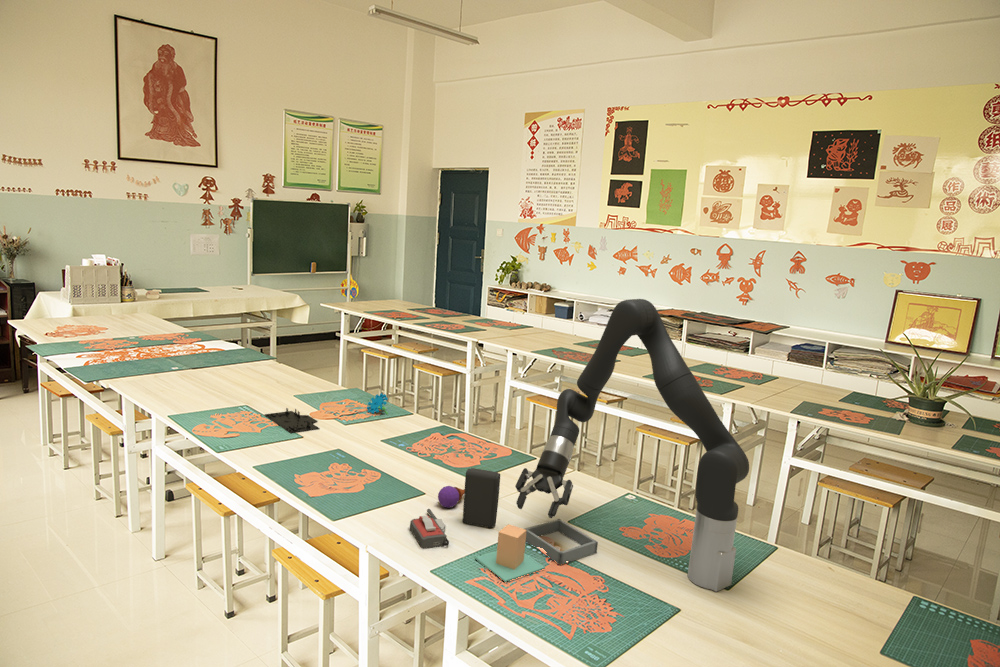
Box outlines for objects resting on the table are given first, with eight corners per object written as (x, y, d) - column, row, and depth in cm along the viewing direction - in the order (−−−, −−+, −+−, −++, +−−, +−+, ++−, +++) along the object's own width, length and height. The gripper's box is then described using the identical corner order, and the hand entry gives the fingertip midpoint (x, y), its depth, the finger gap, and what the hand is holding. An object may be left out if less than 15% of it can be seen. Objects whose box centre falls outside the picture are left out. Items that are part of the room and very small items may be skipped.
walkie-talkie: (456, 548, 161) (431, 513, 179) (457, 531, 161) (432, 498, 178) (422, 553, 158) (400, 517, 176) (423, 536, 157) (401, 502, 175)
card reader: (497, 523, 176) (502, 471, 173) (494, 529, 172) (498, 476, 169) (465, 517, 178) (469, 466, 175) (461, 523, 174) (465, 471, 171)
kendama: (494, 480, 196) (452, 494, 179) (489, 498, 197) (446, 513, 180) (479, 471, 199) (436, 484, 182) (474, 488, 200) (431, 503, 184)
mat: (544, 569, 154) (545, 567, 154) (505, 583, 146) (505, 580, 146) (513, 547, 163) (513, 545, 163) (475, 559, 156) (475, 557, 156)
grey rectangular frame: (596, 552, 164) (597, 541, 163) (560, 565, 156) (561, 553, 156) (558, 529, 175) (559, 518, 175) (522, 539, 168) (523, 528, 167)
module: (523, 560, 156) (526, 529, 155) (514, 569, 151) (517, 538, 150) (505, 554, 158) (508, 524, 157) (495, 563, 154) (498, 531, 152)
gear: (362, 405, 269) (379, 388, 271) (370, 413, 273) (387, 397, 275) (372, 416, 261) (390, 399, 263) (381, 424, 264) (398, 407, 267)
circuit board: (264, 416, 252) (264, 408, 251) (299, 411, 261) (299, 404, 261) (290, 434, 233) (290, 426, 233) (327, 429, 243) (327, 421, 242)
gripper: (528, 443, 172) (505, 498, 163) (578, 455, 165) (557, 513, 157) (535, 457, 177) (513, 511, 169) (583, 469, 171) (563, 526, 162)
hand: (534, 512), depth 163 cm, fingers open, 8 cm apart
